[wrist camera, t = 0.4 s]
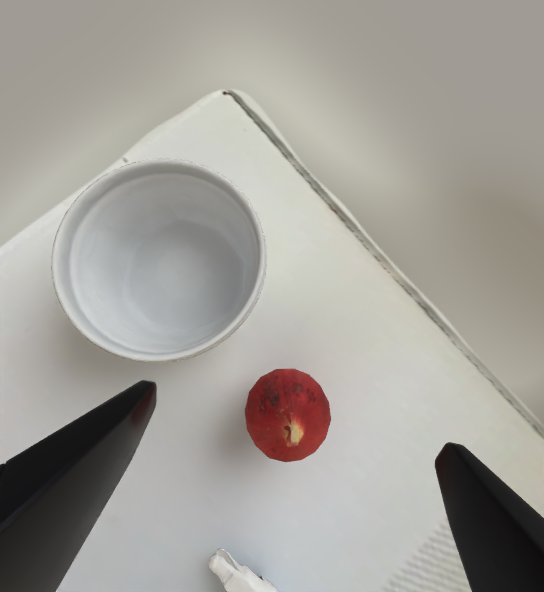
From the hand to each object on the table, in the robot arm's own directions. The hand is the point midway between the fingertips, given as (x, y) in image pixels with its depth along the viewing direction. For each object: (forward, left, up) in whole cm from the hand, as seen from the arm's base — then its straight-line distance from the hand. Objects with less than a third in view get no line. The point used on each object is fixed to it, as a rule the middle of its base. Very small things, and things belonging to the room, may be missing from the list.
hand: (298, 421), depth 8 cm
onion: (-3, 0, -15) cm, 15 cm away
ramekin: (+9, +5, -15) cm, 19 cm away
